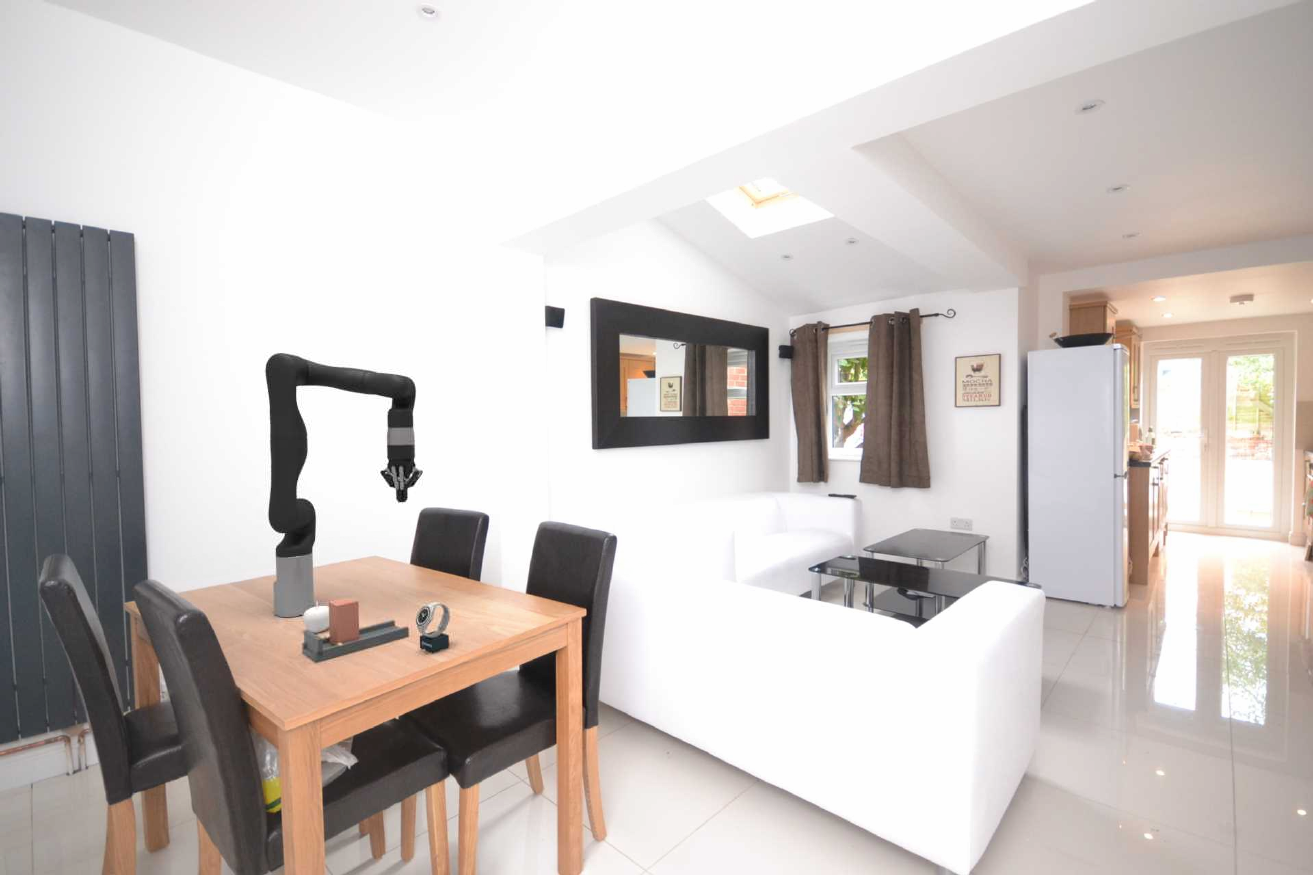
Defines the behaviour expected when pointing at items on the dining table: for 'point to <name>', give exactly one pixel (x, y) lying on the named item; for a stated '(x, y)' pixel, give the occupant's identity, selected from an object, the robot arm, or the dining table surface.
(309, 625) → the plain white apple
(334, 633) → the block
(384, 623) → the rail
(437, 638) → the watch
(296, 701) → the dining table surface
